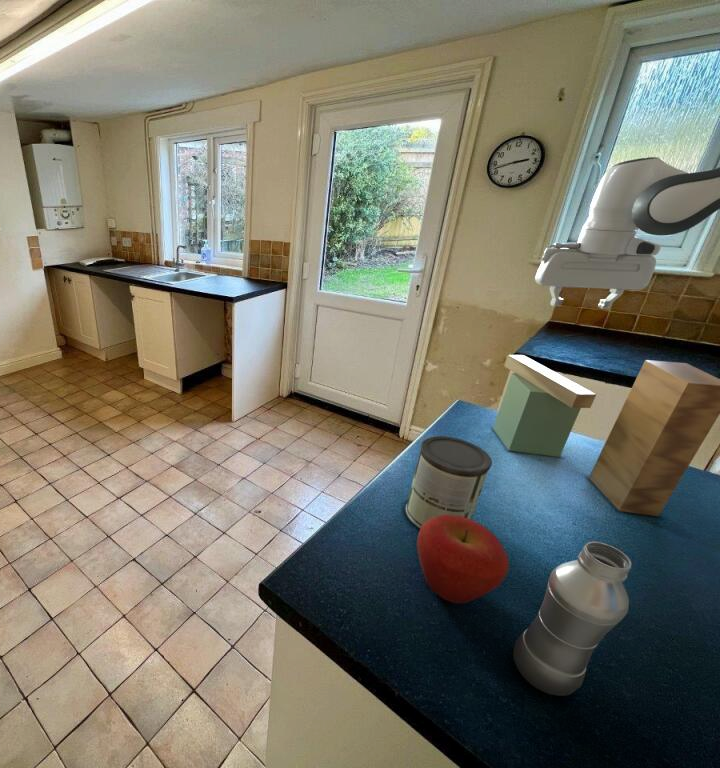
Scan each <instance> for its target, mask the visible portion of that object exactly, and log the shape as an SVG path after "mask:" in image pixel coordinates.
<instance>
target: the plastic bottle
mask: <svg viewBox="0 0 720 768" xmlns="http://www.w3.org/2000/svg"><path fill="white" fill-rule="evenodd" d="M631 569H632V561H631V559H630V558H629V557H628V556H627V555H626V554H625V552H623V551H621V550H620V549H619V548H616V547H615V546H612V545H611V544H607V543H605V542H599V541H589V542H587V543H586V544H584V546H583V548H582V550H581V551H580V552H579V553H578V555H577V558H576V560H571V561H567V562H562V563H561V564H559V565H558V566H556V567H555V568H553V570H552V571H551V572H550V576H549V577H548V582H547V586H546V590H545V594H544V599H542V600H543V601H542V602H541V605H540V609H539V610H538V613H537V615H536V617H535V618H534V619H533V621H532V622H531V623H530V625H529V626H528V628H526V629H525V630H524V631H523V632H522V633H521V634H520V635H519V636H518V638H517V639H516V640H515V643H514V645H513V646H514V647H513V653H512V658H513V661H514V664H515V666H516V668H517V670H518V671H519V673H520V674H521V676H522V677H523V678H524V680H526V682H528V683H529V684H530V685H532V687H534V688H536V689H537V690H539V691H541V692H543V693H545V694H548V695H552V696H558V697H565V696H570V695H572V694H573V693H575V692H576V691H577V690H578V689H580V688H581V686H582V685H583V683H584V680H585V676H586V672H587V666H588V664H589V663H590V659H591V657H592V656H593V655H592V654H593V652H594V650H595V649H596V648H597V646H598V645H599V644H600V642H601V641H602V640H603V638H604V637H605V636H606V635H607V634H609V632H610V631H612V629H613V628H615V627H616V626H617V625H618V624H619V623H620V622H621V621H622V620H623V619H624V618H625V617H626V616H627V614H628V612H629V605H630V603H629V602H630V599H629V595H628V593H627V591H626V587H625V586H624V584H623V583H624V582H625V581H626V579H627V578H628V573H629V572H630V570H631Z"/></svg>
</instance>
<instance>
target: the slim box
mask: <svg viewBox="0 0 720 768" xmlns="http://www.w3.org/2000/svg"><path fill="white" fill-rule="evenodd" d="M504 368H506V369H508V370H509V371H511V372H512V373H516V374H518V375H519V376H521V377H522V378H524V379H526V380H527V381H529V382H531V383H532V384H534V385H535V386H537V387H539V388H540V389H542V390H544V391H545V392H547V393H549V394H550V395H552V396H553V397H555V398H557V399H558V400H560V401H562V402H563V403H565V404H566V405H568V406H570V407H571V408H581V409H591V408H592V405H593V403H594V401H595V399H596V397H597V394H596V393H594V392H593V391H591V390H590V389H587V388H586V387H583V386H581V384H578V383H576V382H575V381H572V380H570V379H569V378H567V377H565V376H563V375H561V374H560V373H558V372H555V371H554V370H552V369H550V368H548V367H547V366H545V365H543V364H541V363H539V362H537V361H535V360H534V359H532V358H530V357H528V356H526V355H525V354H507V357H506V359H505V362H504Z"/></svg>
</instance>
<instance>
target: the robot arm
mask: <svg viewBox="0 0 720 768" xmlns="http://www.w3.org/2000/svg"><path fill="white" fill-rule="evenodd" d="M719 210H720V166H719V167H716V168H713V169H708V170H704V171H703V170H702V171H696V172H687V171H685V170H681V169H679V168H676V167H675V166H672V165H670V164H669V163H667V162H665V161H664V160H663V159H662V158H661V157H657V156H649V157H641V158H635V159H629V160H624V161H621V162H618V163H616V164H613V166H611V167H610V168H608V169H607V170H606V171H605V173H604V175H603V176H602V178H601V179H600V182H599V183H598V186H597V188H596V190H595V193H594V195H593V197H592V200H591V203H590V206H589V216H588V218H587V220H586V221H585V222H584V224H583V226H582V229H581V231H580V233H579V236H578V239H577V242H568V243H565V242H556V243H554V244H551V245H549V246H548V247H546V248H545V250H544V252H543V255H542V261H541V263H540V265H539V267H538V269H537V271H536V273H535V276H534V281H535V283H536V284H537V285H539V286H541V287H542V286H543V287H549V292H550V295H551V297H552V298H551V301H550V306H551V307H562V306H563V302H564V298H561V297H560V295H559V292H562V290H563V288H582V289H583V288H585V289H605V290H606V289H607V290H608V289H609V295H608V296H607V297H606V298H604V299H599V303H598V305H597V307H598V308H599V309H601V310H610V309H611V307H612V305H613V302H615V301H616V300H618V299H619V298H620V297H621V296H622V295H623V293H624V292H625V290H630V291H631V290H633V291H642V290H644V289H645V288H646V287H647V286H649V284H650V282H651V280H652V278H653V275H654V272H655V269H656V265H657V260H656V257H654V256H656V255H658V254H659V253H660V251H661V248H662V247H661V245H660V244H658V243H656V242H653V241H649V240H646V239H643V238H641V237H637V236H636V235H637V233H638V230H640V231H642V232H643V233H646V234H648V235H652V236H660V237H661V236H664V237H665V236H671V235H677V234H680V233H683V232H686V231H688V230H690V229H692V228H693V227H696V226H697V225H698V224H700V223H702V222H703V221H705V220H706V219H707V218H709V217H710V216H712V215H713V214H714V213H716V212H717V211H719Z"/></svg>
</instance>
